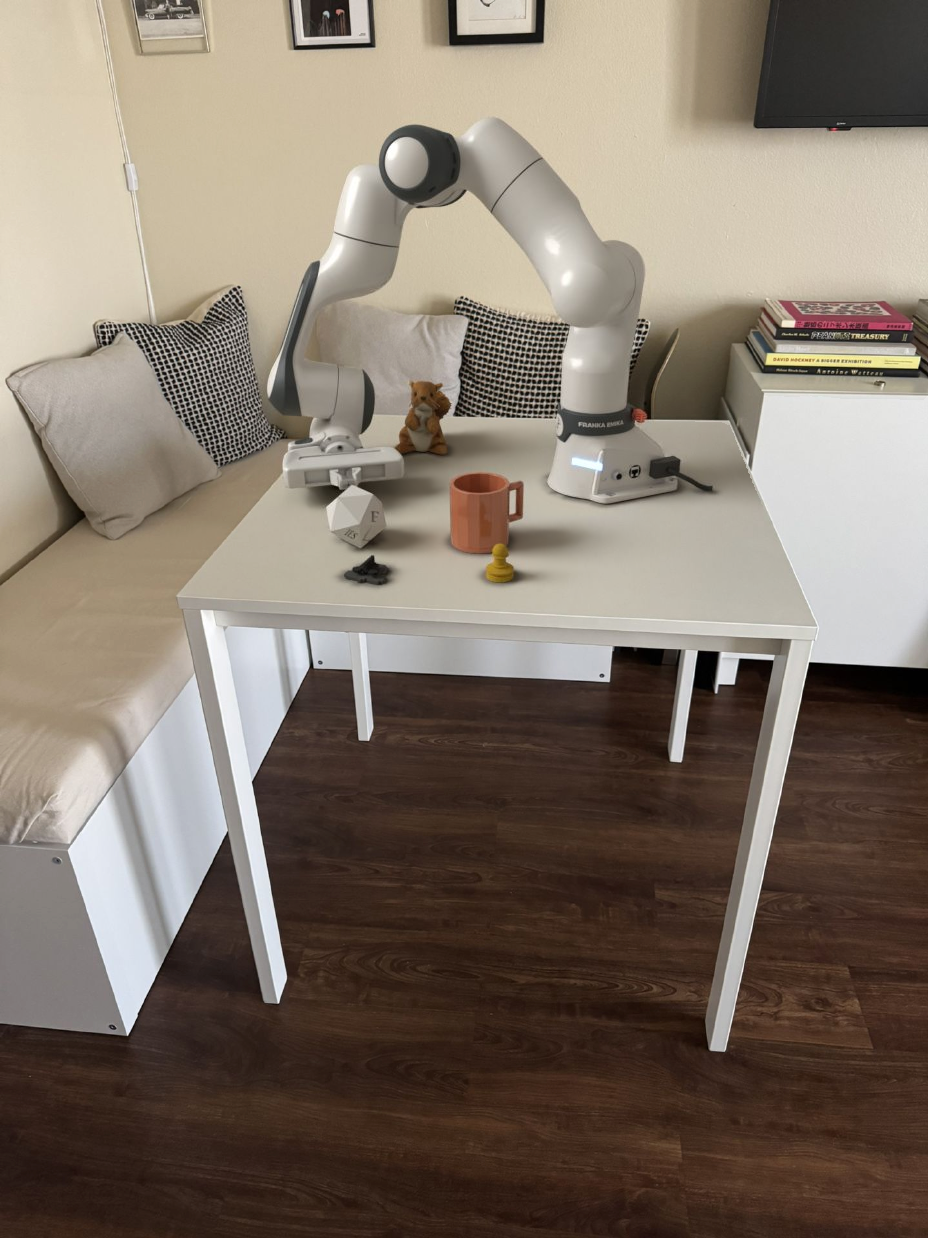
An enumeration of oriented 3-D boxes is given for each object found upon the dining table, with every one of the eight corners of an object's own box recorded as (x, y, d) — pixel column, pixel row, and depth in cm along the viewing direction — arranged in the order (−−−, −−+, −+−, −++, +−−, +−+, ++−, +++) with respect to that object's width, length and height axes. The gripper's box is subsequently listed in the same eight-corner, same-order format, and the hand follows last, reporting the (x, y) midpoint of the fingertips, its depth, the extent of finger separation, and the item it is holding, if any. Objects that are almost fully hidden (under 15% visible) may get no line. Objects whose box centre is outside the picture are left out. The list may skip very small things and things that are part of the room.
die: (329, 559, 134) (362, 514, 129) (306, 514, 138) (338, 469, 132) (372, 561, 140) (406, 518, 135) (350, 517, 144) (382, 474, 138)
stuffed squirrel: (392, 456, 170) (389, 387, 164) (407, 432, 182) (404, 367, 176) (444, 458, 169) (443, 389, 162) (455, 434, 181) (454, 369, 174)
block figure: (395, 554, 128) (378, 571, 124) (396, 569, 130) (379, 586, 125) (358, 548, 130) (340, 564, 126) (359, 562, 132) (341, 579, 127)
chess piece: (494, 567, 130) (494, 536, 127) (518, 573, 128) (519, 541, 126) (480, 578, 127) (480, 546, 124) (505, 584, 125) (505, 552, 123)
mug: (471, 558, 132) (471, 498, 128) (440, 537, 139) (438, 479, 134) (538, 538, 138) (540, 480, 133) (505, 519, 145) (506, 463, 140)
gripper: (399, 467, 160) (412, 496, 148) (282, 477, 156) (287, 508, 144) (397, 433, 157) (411, 460, 145) (278, 443, 153) (283, 471, 141)
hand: (348, 484), depth 145 cm, fingers closed
